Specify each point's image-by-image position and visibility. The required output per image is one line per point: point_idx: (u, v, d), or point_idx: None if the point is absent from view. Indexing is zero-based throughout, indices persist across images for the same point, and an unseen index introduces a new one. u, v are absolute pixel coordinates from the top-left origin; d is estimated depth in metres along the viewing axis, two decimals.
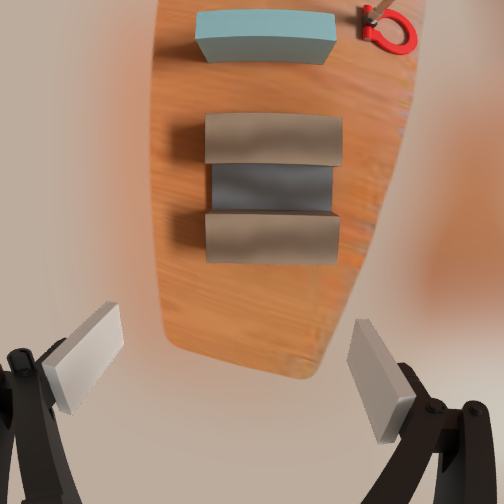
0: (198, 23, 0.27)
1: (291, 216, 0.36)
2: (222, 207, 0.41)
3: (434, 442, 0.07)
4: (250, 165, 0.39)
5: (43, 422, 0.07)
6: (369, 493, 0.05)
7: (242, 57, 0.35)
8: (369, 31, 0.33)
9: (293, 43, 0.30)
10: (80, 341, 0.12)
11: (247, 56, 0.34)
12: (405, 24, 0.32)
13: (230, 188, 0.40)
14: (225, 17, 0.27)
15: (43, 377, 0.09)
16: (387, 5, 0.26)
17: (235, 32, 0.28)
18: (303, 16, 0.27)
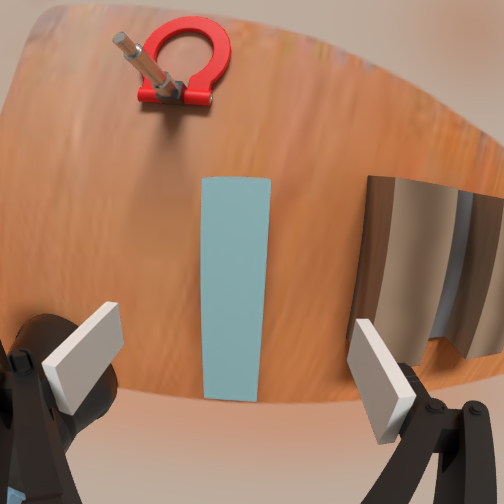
0: (227, 397, 0.21)
1: (495, 263, 0.21)
2: (445, 325, 0.28)
3: (434, 442, 0.07)
4: None
5: (43, 422, 0.07)
6: (369, 493, 0.05)
7: None
8: (195, 94, 0.23)
9: None
10: (80, 341, 0.12)
11: None
12: (166, 33, 0.22)
13: None
14: (218, 365, 0.21)
15: (43, 377, 0.09)
16: (154, 64, 0.16)
17: (251, 353, 0.20)
18: (215, 240, 0.18)
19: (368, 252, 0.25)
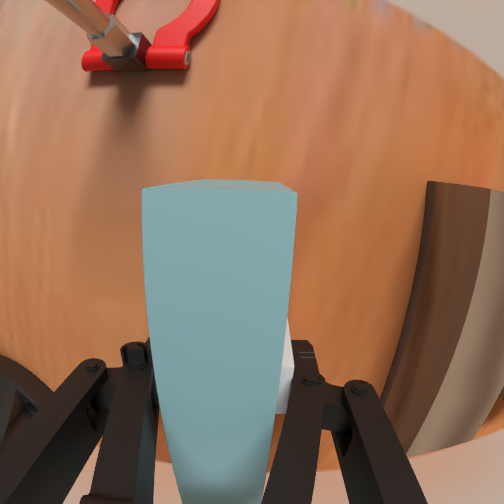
0: None
1: None
2: None
3: (320, 412, 0.09)
4: None
5: (141, 423, 0.08)
6: (271, 473, 0.06)
7: None
8: (162, 52, 0.13)
9: None
10: None
11: None
12: None
13: None
14: (201, 484, 0.11)
15: None
16: None
17: (252, 477, 0.10)
18: (175, 320, 0.08)
19: (427, 298, 0.15)
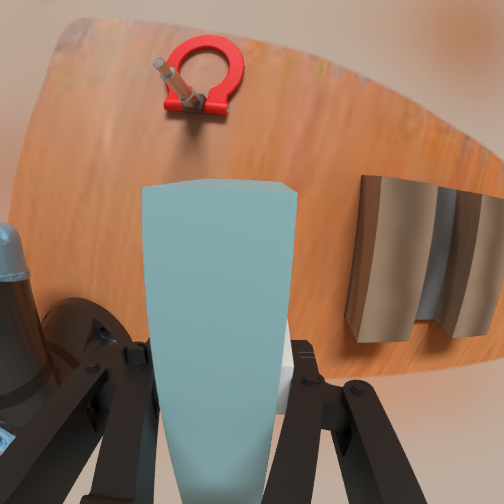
0: None
1: (475, 250, 0.25)
2: (434, 309, 0.32)
3: (320, 412, 0.09)
4: None
5: (141, 423, 0.08)
6: (271, 473, 0.06)
7: None
8: (214, 105, 0.28)
9: None
10: None
11: None
12: (187, 50, 0.27)
13: (420, 301, 0.32)
14: (201, 484, 0.11)
15: None
16: (183, 82, 0.21)
17: (252, 477, 0.10)
18: (175, 320, 0.08)
19: (361, 240, 0.30)
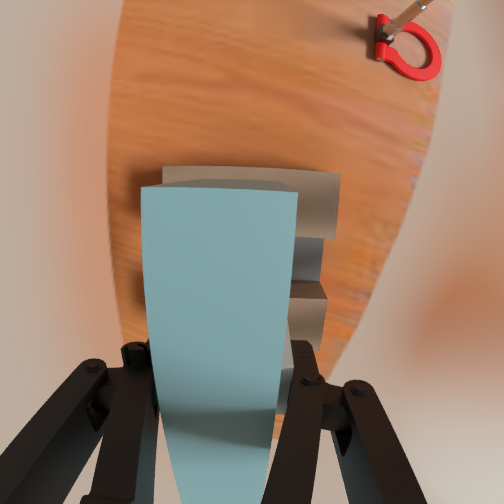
0: None
1: None
2: None
3: (320, 412, 0.09)
4: None
5: (141, 423, 0.08)
6: (271, 473, 0.06)
7: None
8: (383, 49, 0.26)
9: None
10: None
11: None
12: (428, 41, 0.26)
13: None
14: (200, 485, 0.11)
15: None
16: (410, 18, 0.19)
17: (251, 478, 0.10)
18: (175, 320, 0.08)
19: None
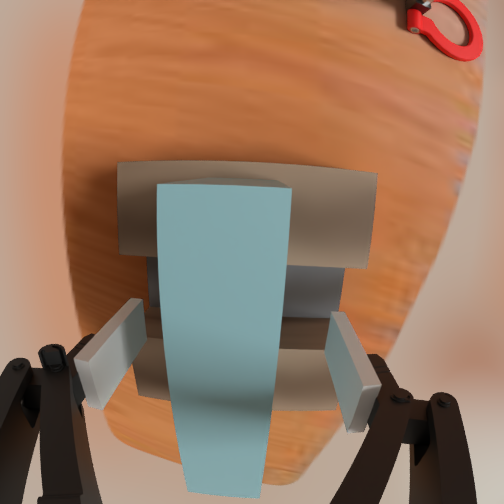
0: (219, 493, 0.13)
1: None
2: None
3: (403, 431, 0.08)
4: None
5: (70, 420, 0.07)
6: (342, 485, 0.06)
7: None
8: (418, 17, 0.17)
9: None
10: (110, 336, 0.12)
11: None
12: (466, 16, 0.17)
13: None
14: (204, 464, 0.12)
15: (74, 372, 0.10)
16: None
17: (253, 455, 0.12)
18: (185, 301, 0.10)
19: None
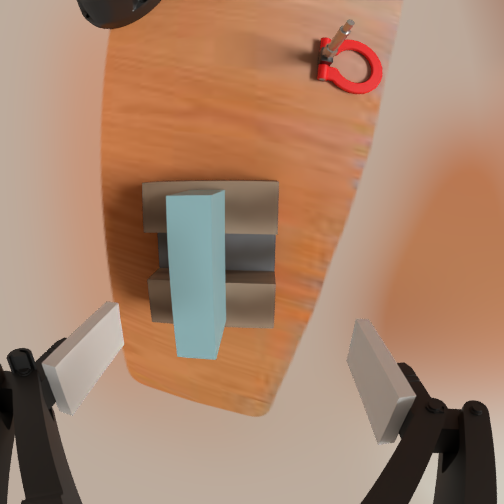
0: (194, 355, 0.29)
1: (226, 284, 0.37)
2: (168, 266, 0.42)
3: (434, 442, 0.07)
4: None
5: (43, 422, 0.07)
6: (369, 493, 0.05)
7: (223, 288, 0.35)
8: (324, 70, 0.34)
9: (215, 244, 0.29)
10: (80, 341, 0.12)
11: (222, 284, 0.35)
12: (369, 56, 0.34)
13: None
14: (185, 328, 0.29)
15: (43, 377, 0.09)
16: (339, 42, 0.27)
17: (208, 319, 0.28)
18: (176, 237, 0.26)
19: None
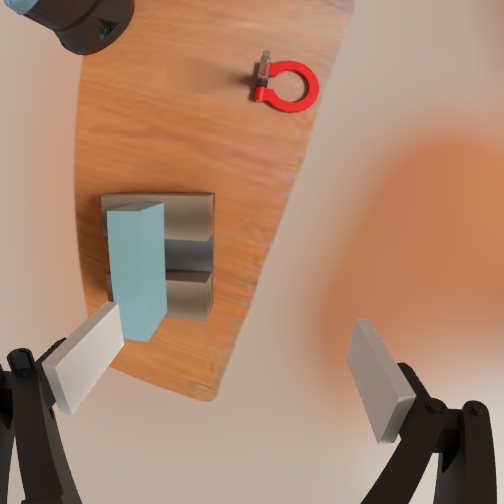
0: (131, 337, 0.35)
1: (166, 281, 0.43)
2: None
3: (434, 442, 0.07)
4: None
5: (43, 422, 0.07)
6: (369, 493, 0.05)
7: (161, 285, 0.41)
8: (260, 92, 0.40)
9: (146, 249, 0.35)
10: (80, 341, 0.12)
11: (160, 281, 0.41)
12: (306, 76, 0.40)
13: None
14: (123, 315, 0.35)
15: (43, 377, 0.09)
16: (264, 69, 0.33)
17: (139, 308, 0.34)
18: (114, 243, 0.32)
19: (168, 193, 0.44)
